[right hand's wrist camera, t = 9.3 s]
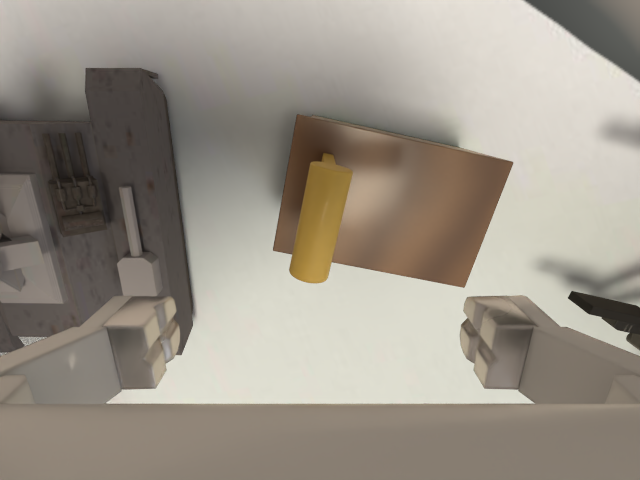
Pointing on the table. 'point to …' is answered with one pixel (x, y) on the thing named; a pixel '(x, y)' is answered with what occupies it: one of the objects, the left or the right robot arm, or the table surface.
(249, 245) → the table surface
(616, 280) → the table surface
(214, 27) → the table surface
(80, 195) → the toy
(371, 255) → the lid
